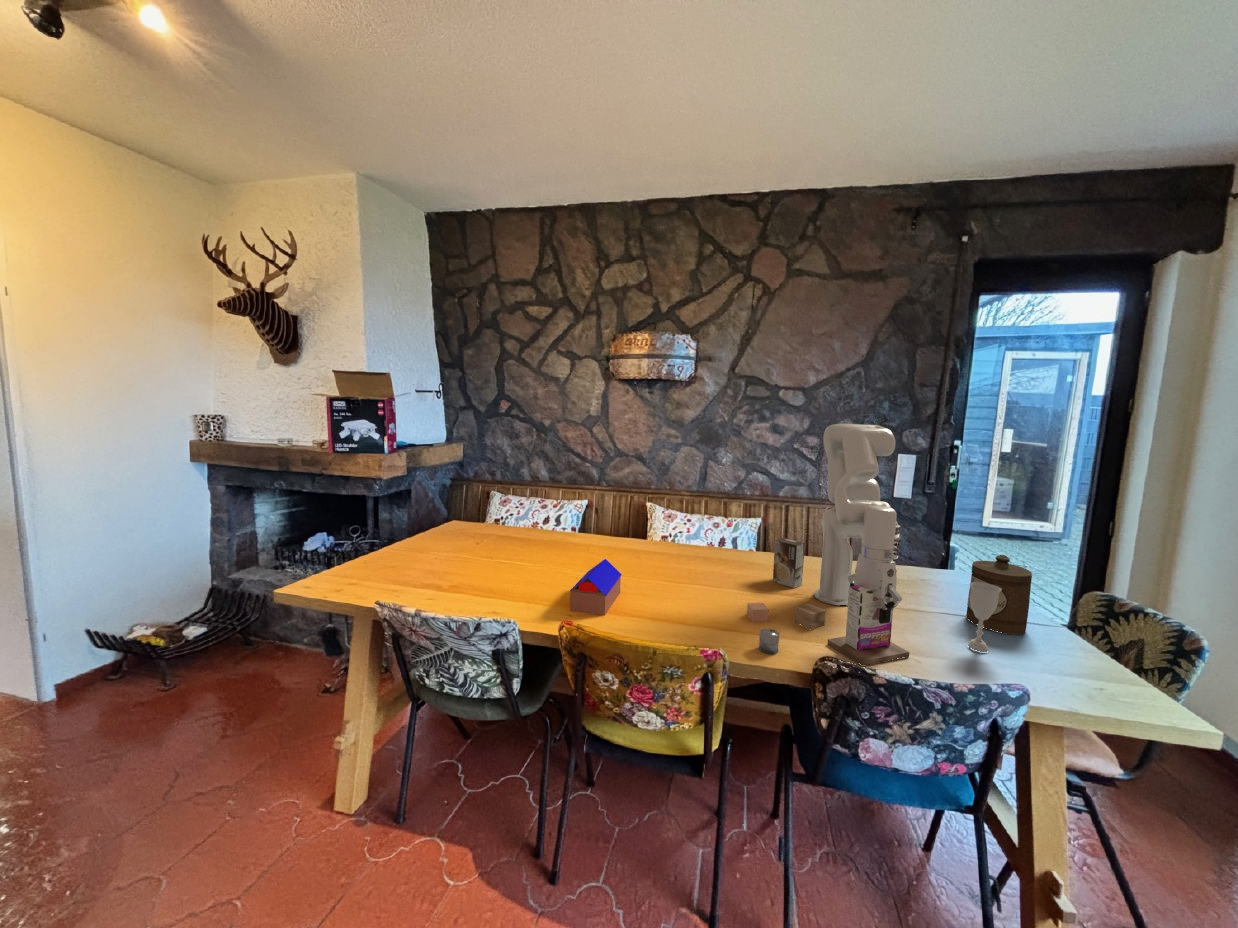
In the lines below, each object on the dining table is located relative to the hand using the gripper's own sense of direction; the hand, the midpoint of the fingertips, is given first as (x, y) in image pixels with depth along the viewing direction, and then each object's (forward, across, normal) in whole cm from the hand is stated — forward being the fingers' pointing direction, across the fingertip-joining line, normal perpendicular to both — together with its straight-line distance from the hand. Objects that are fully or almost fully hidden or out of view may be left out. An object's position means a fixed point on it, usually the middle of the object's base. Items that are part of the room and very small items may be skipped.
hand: (870, 615), depth 132 cm
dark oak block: (+10, +18, +4) cm, 21 cm away
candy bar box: (+9, 0, 0) cm, 9 cm away
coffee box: (+10, +49, -12) cm, 51 cm away
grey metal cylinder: (+10, +8, +26) cm, 29 cm away
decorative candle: (+10, +37, -45) cm, 59 cm away
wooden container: (+10, +2, -53) cm, 54 cm away
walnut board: (+10, 0, 0) cm, 10 cm away
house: (+11, +52, +61) cm, 81 cm away
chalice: (+10, -8, -31) cm, 34 cm away
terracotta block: (+10, +26, +17) cm, 33 cm away
